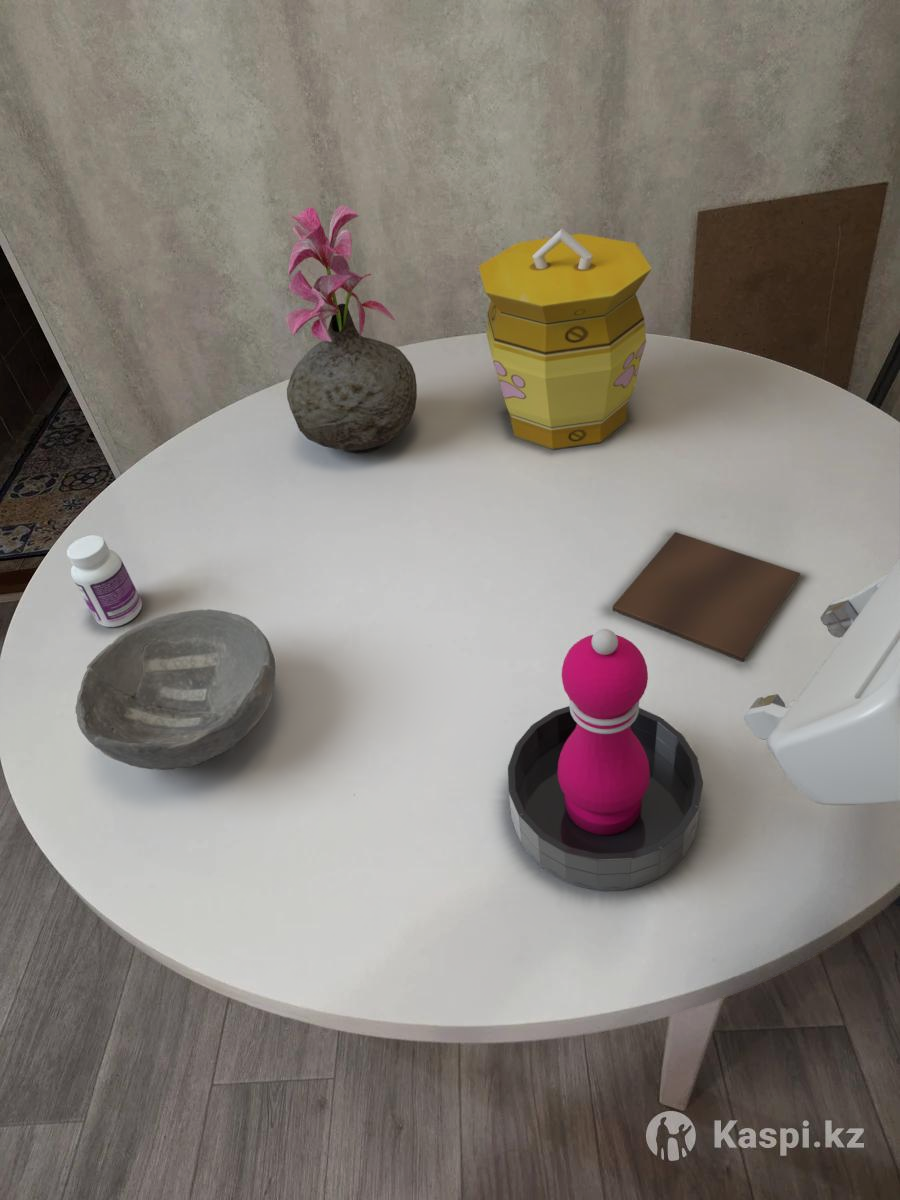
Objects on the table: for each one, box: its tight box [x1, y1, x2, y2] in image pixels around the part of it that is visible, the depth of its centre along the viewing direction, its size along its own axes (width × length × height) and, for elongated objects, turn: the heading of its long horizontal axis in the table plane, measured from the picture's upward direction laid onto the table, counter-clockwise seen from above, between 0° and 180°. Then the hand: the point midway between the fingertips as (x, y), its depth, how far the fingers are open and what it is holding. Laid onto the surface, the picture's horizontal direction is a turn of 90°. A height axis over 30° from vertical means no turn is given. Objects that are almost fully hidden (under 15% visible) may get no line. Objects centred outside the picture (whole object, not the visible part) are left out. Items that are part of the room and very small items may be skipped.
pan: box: [507, 705, 704, 891], centre depth 70 cm, size 15×15×4 cm
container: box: [478, 227, 653, 451], centre depth 109 cm, size 21×21×25 cm
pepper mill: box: [558, 628, 650, 835], centre depth 65 cm, size 7×7×20 cm
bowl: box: [74, 608, 276, 771], centre depth 81 cm, size 18×18×8 cm
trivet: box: [611, 531, 801, 662], centre depth 89 cm, size 14×14×1 cm
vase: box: [285, 205, 418, 454], centre depth 109 cm, size 17×17×30 cm
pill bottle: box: [66, 534, 143, 628], centre depth 94 cm, size 5×5×10 cm
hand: (794, 667), depth 50 cm, fingers open, 8 cm apart
